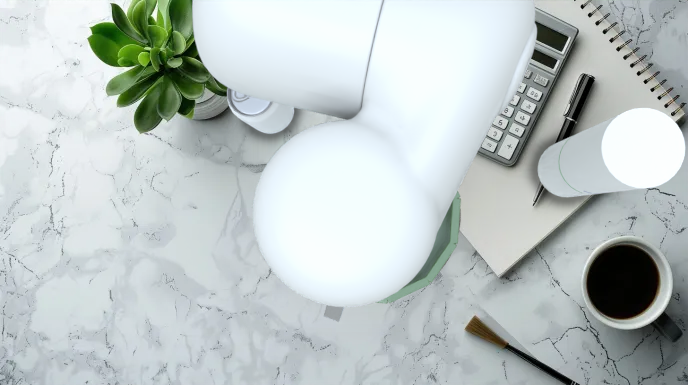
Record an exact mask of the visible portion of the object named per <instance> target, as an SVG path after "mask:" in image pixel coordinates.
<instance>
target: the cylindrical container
mask: <svg viewBox="0 0 688 385" xmlns="http://www.w3.org/2000/svg"><path fill="white" fill-rule="evenodd" d="M685 156H686V141H685V137H684V134H683V132H682V130H681V128H680V127H679V125H678V123H676V122H675V120H674V119H672V117H671V116H669V115H668V114H666V113H664V112H662V111H660V110H658V109H654V108H650V107H638V108H632V109H629V110H626V111H623V112H621V113H619V114H617V115H615V116H613V117H610V118H608V119H606V120H604V121H602V122H599V123H597V124H595V125H593V126H591V127H589V128H587V129H584V130H581V131H580V132H578V133H576V134H575V133H574V134H573V135H571V136H569V137H567V138H564V139H562V140H560V141H558V142H556V143H553V144H552V145H550V146H548V147H547V148H546V149H545V150H544V151H543V153H542V154H541V155H540V158H539V160H538V163H537V175H538V178H539V181H540V183H541V184H542V186H543V187H544V189H545V190H547V191H548V192H549V193H551V194H552V195H554V196H557V197H560V198H573V197H583V196H591V195H592V196H593V195H600V194H608V193H617V192H626V191H635V190H644V189H651V188H652V189H653V188H656V187H659V186H661V185H663V184H666V183H668V182H669V181H670V180H671V179H672V178H673V177H675V175H677V173H678V172H679V170H680V169H681V167H682V164H683V163H684V159H685Z"/></svg>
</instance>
